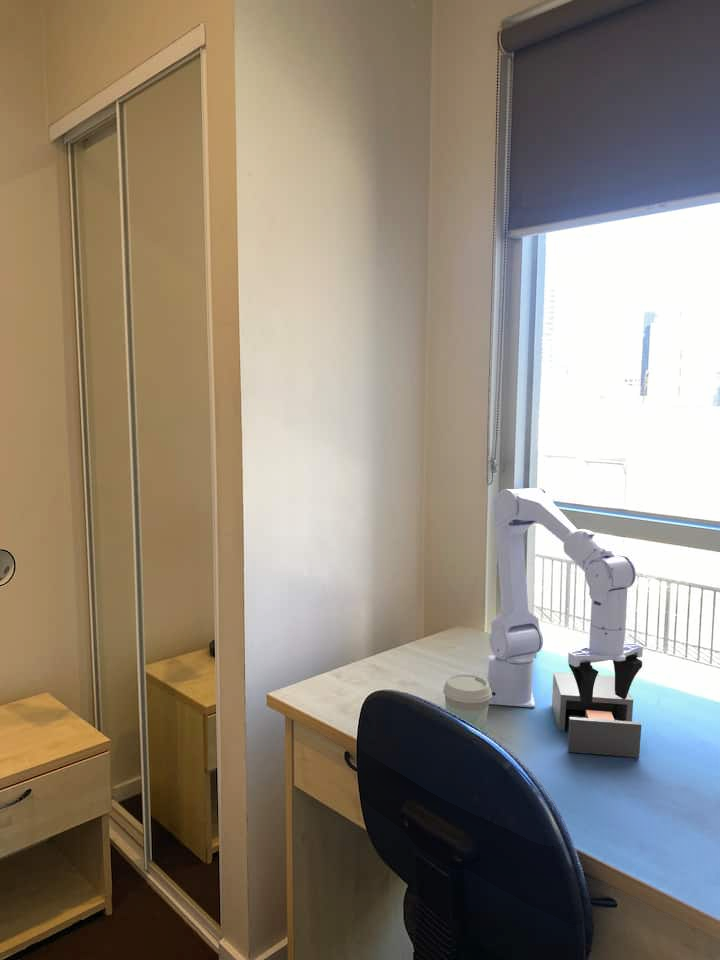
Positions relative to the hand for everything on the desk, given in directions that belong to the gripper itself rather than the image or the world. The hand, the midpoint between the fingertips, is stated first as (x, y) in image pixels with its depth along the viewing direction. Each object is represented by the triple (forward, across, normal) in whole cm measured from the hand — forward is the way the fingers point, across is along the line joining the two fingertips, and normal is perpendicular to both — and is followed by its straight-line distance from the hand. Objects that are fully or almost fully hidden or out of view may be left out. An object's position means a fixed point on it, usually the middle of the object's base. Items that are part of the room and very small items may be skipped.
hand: (603, 699), depth 127 cm
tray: (+9, +2, +3) cm, 10 cm away
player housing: (+10, +6, +11) cm, 15 cm away
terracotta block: (+8, +2, +2) cm, 9 cm away
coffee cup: (+10, -22, +10) cm, 26 cm away
